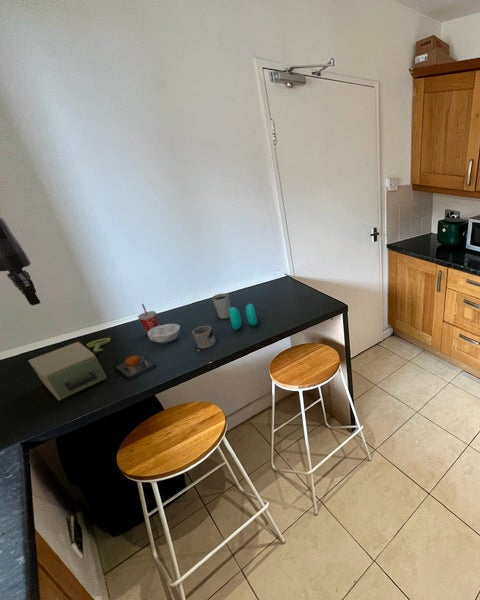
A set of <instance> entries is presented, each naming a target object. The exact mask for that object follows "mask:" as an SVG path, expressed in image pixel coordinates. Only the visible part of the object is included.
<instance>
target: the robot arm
mask: <svg viewBox="0 0 480 600" xmlns="http://www.w3.org/2000/svg"><path fill="white" fill-rule="evenodd" d="M29 266H31V259H29V257H28V255H27V253H26V252H25V250H24V248H23V247H22V244H21V243H20V242H19V240H18V238H17V237H16V236H15V235H14V233H13V231H12V230H11V227H10V226H9V224H8V223H7V221H6V220H5V219H4V218H3V217H2V216H0V272H8V273H7V274H6V277H7V278H8V279H9V280H11V282H12V283H13V285H14V286H15V287H16V288H17V290H18V291H20V293H21V294H22V295H23V296H24V297H25V299H26V301H27V302H28V303H29V304H30V306H37V305H39V304H41V300H40V299H39V297H38V295H37V290H36V288H35V283H34V282H33V280H32V279H31V275H30V273H29V272H28V271H26V270H24V268H26V267H29Z"/></svg>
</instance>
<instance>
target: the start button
mask: <svg viewBox="0 0 480 600" xmlns="http://www.w3.org/2000/svg"><path fill="white" fill-rule="evenodd" d="M138 356H139V355H131V356H129V357H127V358H126V359H125V361H126V363H127V365H128V366H130V365H134V364H136V363H138V362H139V361H140V360H139V358H138ZM125 361H124V362H125Z"/></svg>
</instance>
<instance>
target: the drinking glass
mask: <svg viewBox="0 0 480 600" xmlns="http://www.w3.org/2000/svg"><path fill="white" fill-rule="evenodd" d="M211 299H212V303H213V305H214V309H215V310H216V313H217V315H218V316H217V317H218V318H219V319H228V318H230V316H229V309H230V308H231V307H232V305H231V301H230V296H229V294H228V293H218V294H214V295H213V296H212V297H211Z"/></svg>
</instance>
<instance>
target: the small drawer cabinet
mask: <svg viewBox="0 0 480 600" xmlns="http://www.w3.org/2000/svg"><path fill="white" fill-rule="evenodd" d="M92 358H94V359H95V360H96V362H97V364H98V366H99V367H100V369H101V371H102V373H103V375H104V376H105V379H102V380H100V381H98V382H96V383H94V384H92V385H89V386H87V387H85V388H83V389H81V390H79V391H77V392H74V393H72V394H70V395H68V396H66V397H64V398H62V399H61V398H60V397H59V396H58V394H57V393H56V391H55V390H54V388H53V386H52V385H51V383H50V382H49V380H48V379H47V376H49V375H52V374H54V373H57V372H59V371H61V370H64V369H66V368H69V367H71V366H73V365H76V364H78V363H81V362H83V361H85V360H88V359H92ZM27 361H28V363H29V364H30V366H31V368H32V369H33V370H34V372H35V373H36V375H37V376H38V377H39V379H40V381H41V382H42V384H43V385H44V386H45V387H46V388H47V390H49V392H50V393H51V395H53V397H55V399H56V400H57V401H61V400H63V399H65V398H68V397H70V396H71V395H74V394H76V393H78V392H80V391H83V390H85V389H86V388H88V387H91V386H94V385H95V384H97V383H100V382H102V381H103V380H104V381H105V380H106V379H108V377H107V375H106V373H105V371H104V369H103V367H102V365H101V364H100V362H99V360H98V359H97V356H96V355H95V353H93V351H91V350H90V349H89V348H88V347H87V346H84V345H83V344H82V343H81V342H80V341H76V342H74V343H73V342H72V343H71V344H68V345H65V346H63V347H60V348H58V349H55V350H52V351H49V352H46V353H44V354H41V355H39V356H36V357H34V358H31V359H28V360H27Z"/></svg>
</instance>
